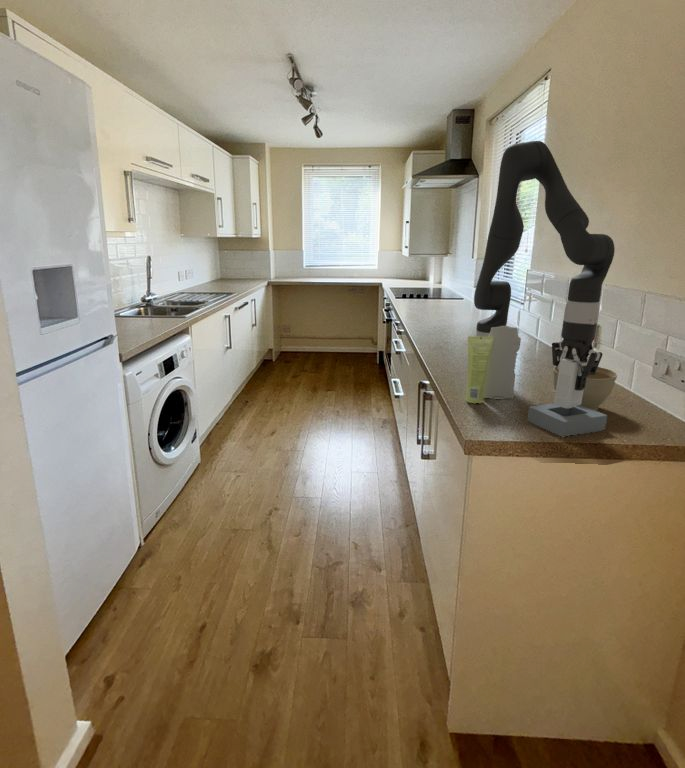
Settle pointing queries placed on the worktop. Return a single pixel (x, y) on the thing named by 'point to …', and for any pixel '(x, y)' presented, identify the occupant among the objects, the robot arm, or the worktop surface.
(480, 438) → the worktop surface
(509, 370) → the tall pale column
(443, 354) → the worktop surface
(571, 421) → the socket frame
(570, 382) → the skincare box
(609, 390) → the planter bowl
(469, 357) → the tube
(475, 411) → the worktop surface
